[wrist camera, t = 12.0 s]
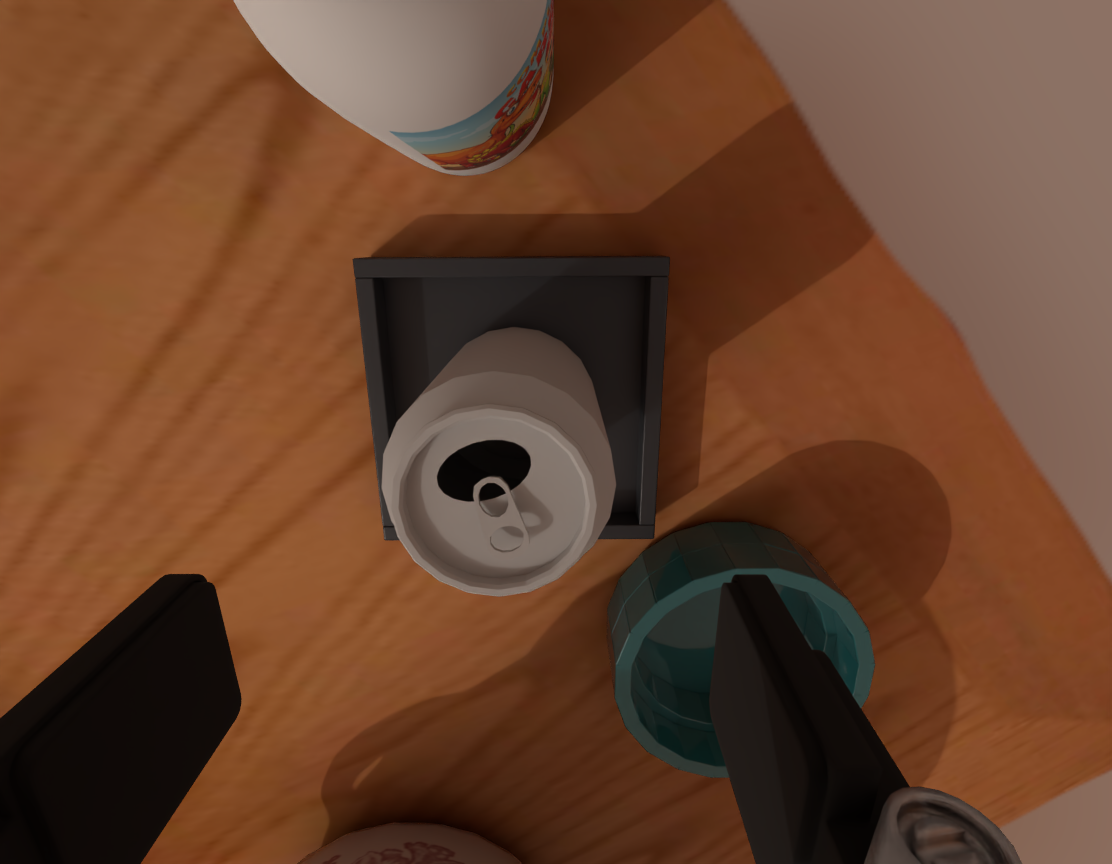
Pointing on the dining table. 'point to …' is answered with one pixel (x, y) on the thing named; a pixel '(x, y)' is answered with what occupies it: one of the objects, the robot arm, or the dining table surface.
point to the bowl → (713, 632)
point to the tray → (539, 304)
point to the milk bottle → (422, 71)
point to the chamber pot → (411, 847)
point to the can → (501, 466)
